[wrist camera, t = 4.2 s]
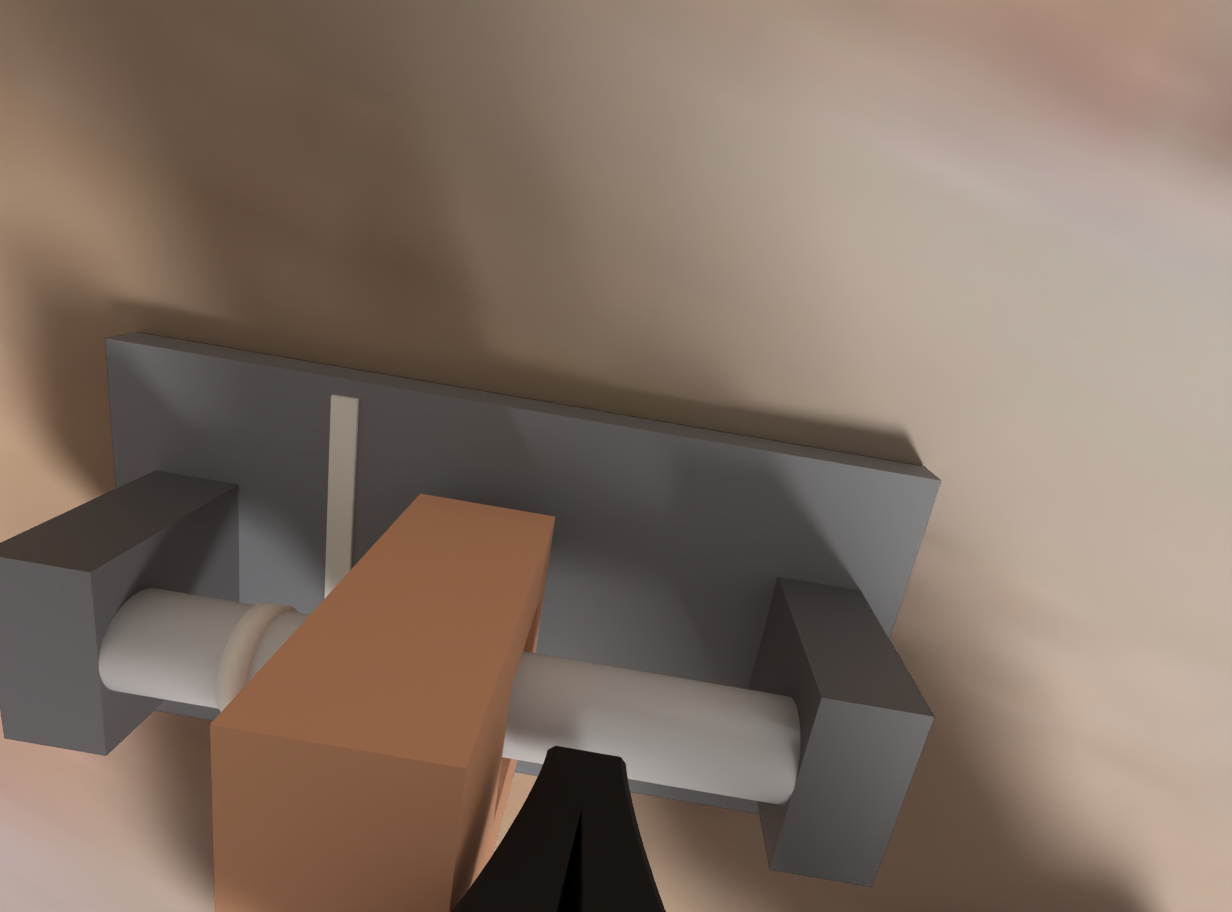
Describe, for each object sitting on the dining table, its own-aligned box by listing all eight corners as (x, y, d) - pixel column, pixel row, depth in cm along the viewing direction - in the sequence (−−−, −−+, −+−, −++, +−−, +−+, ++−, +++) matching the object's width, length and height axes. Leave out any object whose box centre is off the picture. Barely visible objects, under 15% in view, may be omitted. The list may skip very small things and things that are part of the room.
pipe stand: (924, 466, 16) (1055, 577, 11) (819, 797, 19) (881, 1009, 14) (137, 332, 16) (-113, 378, 11) (156, 683, 19) (-31, 851, 14)
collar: (555, 516, 15) (466, 767, 8) (523, 739, 17) (426, 1104, 10) (420, 493, 15) (209, 724, 8) (403, 718, 17) (218, 1069, 10)
